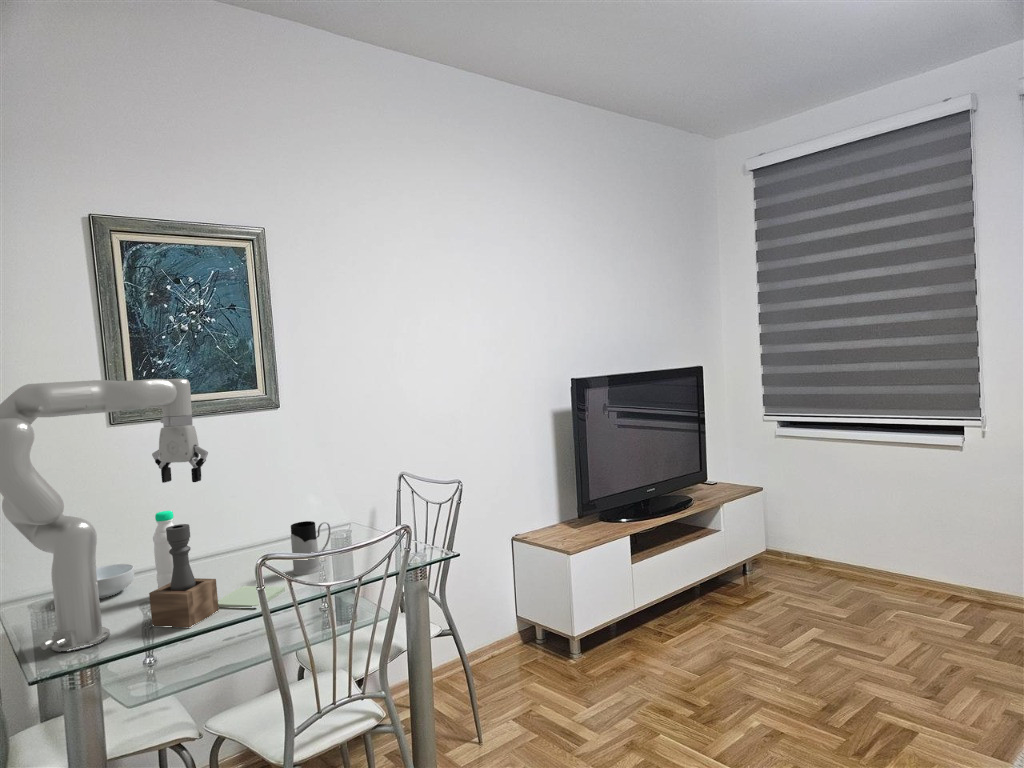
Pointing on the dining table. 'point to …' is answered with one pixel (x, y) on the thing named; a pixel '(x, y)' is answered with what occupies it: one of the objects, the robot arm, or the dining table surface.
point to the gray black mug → (306, 546)
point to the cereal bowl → (113, 578)
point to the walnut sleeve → (184, 604)
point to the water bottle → (163, 548)
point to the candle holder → (180, 557)
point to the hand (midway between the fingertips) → (181, 481)
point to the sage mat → (248, 596)
